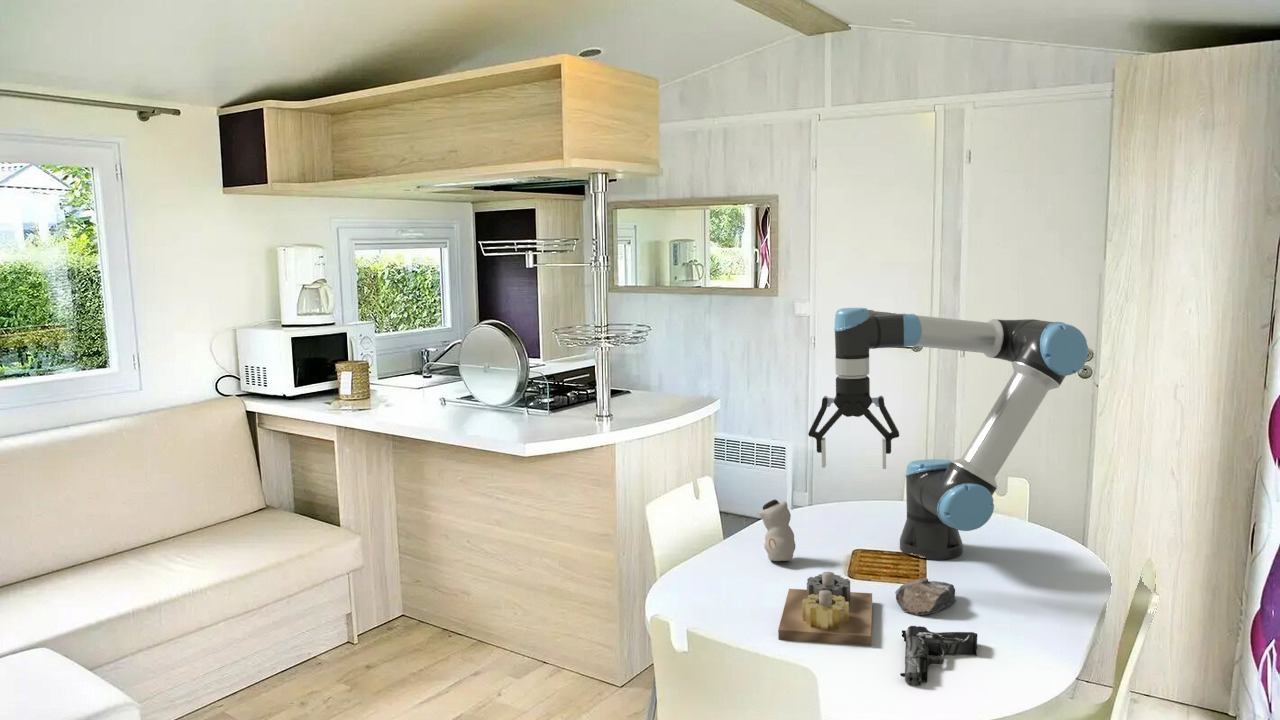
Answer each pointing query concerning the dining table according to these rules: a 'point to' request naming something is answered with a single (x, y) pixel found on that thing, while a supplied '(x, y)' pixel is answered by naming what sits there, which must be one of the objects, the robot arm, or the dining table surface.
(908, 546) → the robot arm
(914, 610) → the rock
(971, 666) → the dining table surface
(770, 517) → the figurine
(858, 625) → the board
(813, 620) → the brass gear
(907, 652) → the handgun
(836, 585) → the grey gear
